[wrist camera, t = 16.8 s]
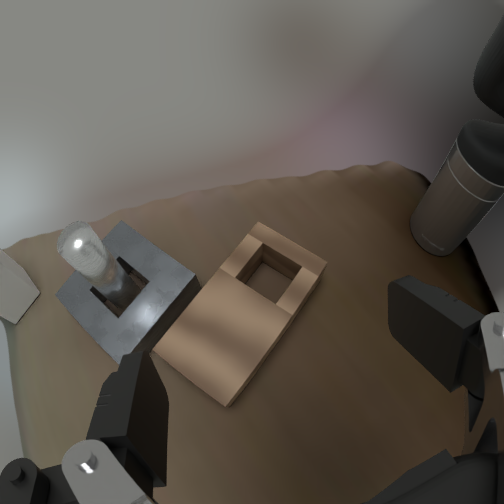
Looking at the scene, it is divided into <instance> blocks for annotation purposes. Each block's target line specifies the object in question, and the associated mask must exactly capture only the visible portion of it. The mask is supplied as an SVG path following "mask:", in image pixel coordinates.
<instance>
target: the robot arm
mask: <svg viewBox="0 0 504 504" xmlns="http://www.w3.org/2000/svg"><path fill="white" fill-rule="evenodd" d="M473 80H474V81H473V82H474V84H473V85H474V90H475V93H476V95H477V97H478V98H479V99H480V100H481V101H482V102H483V103H484V104H485V105H486V106H488V107H489V108H490V109H492V110H493V111H494V112H496V113H497V114H499V115H500V116H502V117H503V118H504V15H503V17H502V19H501V20H500V22H499V24H498V26H497V28H496V29H495V31H494V33H493V34H492V36H491V38H490V39H489V41H488V43H487V45H486V46H485V48H484V50H483V52H482V54H481V56H480V58H479V61H478V63H477V66H476V69H475V73H474V79H473ZM503 194H504V124H495V123H491V122H487V121H483V120H470V121H468V122H467V123H466V124H465V125H464V126H463V127H462V129H461V131H460V133H459V135H458V137H457V139H456V141H455V143H454V145H453V146H452V148H451V150H450V152H449V154H448V156H447V158H446V159H445V161H444V163H443V165H442V166H441V169H440V170H439V172H438V173H437V175H436V177H435V178H434V180H433V182H432V183H431V185H430V187H429V188H428V190H427V192H426V193H425V195H424V197H423V198H422V200H421V201H420V203H419V204H418V206H417V208H416V209H415V211H414V212H413V214H412V216H411V219H410V228H411V232H412V234H413V236H414V238H415V240H416V241H417V243H418V244H419V245H420V246H421V247H422V248H423V249H425V250H426V251H427V252H429V253H431V254H434V255H437V256H446V255H448V254H450V253H451V252H453V251H454V250H455V249H456V247H457V246H458V245H459V244H460V243H461V242H462V241H463V240H464V239H465V238H466V237H467V236H468V235H469V234H470V233H471V231H472V230H473V229H474V228H475V227H476V226H477V225H478V224H479V222H480V221H481V220H482V219H483V218H484V216H486V214H487V213H488V212H489V211H490V210H491V208H492V207H493V206H494V205H495V204H496V202H497V201H498V200H499V199H500V197H501V196H502V195H503ZM388 324H389V329H390V332H391V334H392V336H393V337H394V338H395V339H396V340H397V341H398V342H399V343H400V344H401V345H402V346H403V347H404V348H405V349H406V350H407V351H408V352H409V353H410V354H411V355H412V356H413V357H415V358H416V359H417V360H418V361H419V362H420V363H421V364H422V365H423V366H424V367H425V368H426V369H427V370H428V371H429V372H430V373H431V374H432V375H433V376H434V377H435V378H436V379H437V380H438V381H439V382H440V383H441V384H442V385H443V386H444V387H445V388H446V389H447V390H448V391H449V392H450V393H451V392H452V391H454V390H455V389H457V388H459V387H460V386H462V385H464V386H465V387H466V390H465V393H464V409H465V434H464V446H463V450H462V453H461V456H457V457H452V456H451V455H450V454H449V452H448V451H447V450H446V449H445V450H443V451H442V452H440V453H438V454H437V455H435V456H433V457H432V458H430V459H428V460H426V461H425V462H423V463H421V464H419V465H418V466H416V467H414V468H412V469H410V470H408V471H407V472H406V473H404V474H403V475H402V476H401V477H400V478H398V479H397V480H396V481H395V482H393V483H392V484H391V485H390V486H388V487H387V488H386V489H384V490H383V491H382V492H380V493H379V494H378V495H376V496H375V497H374V498H372V499H371V500H369V501H367V502H365V503H362V504H504V312H495V313H491V314H488V315H487V316H485V315H483V314H481V313H480V312H478V311H477V310H475V309H473V308H472V307H470V306H469V305H467V304H465V303H464V302H462V301H460V300H457V298H455V297H454V296H452V295H449V293H447V292H445V291H444V290H442V289H440V288H439V287H435V286H431V285H427V284H424V283H423V282H421V281H419V280H418V279H416V278H414V277H413V276H410V275H408V276H405V277H403V278H400V279H397V280H394V281H392V282H390V283H389V285H388ZM99 396H100V397H99V398H98V401H97V404H96V405H97V407H95V410H94V413H93V417H92V420H91V423H90V427H89V430H88V433H87V437H86V440H84V441H81V442H79V443H77V444H75V445H73V446H72V447H71V448H70V449H69V450H68V451H67V452H66V454H65V455H64V457H63V460H62V464H60V465H57V466H53V467H49V468H45V469H41V470H40V469H39V468H38V467H37V466H36V465H35V464H34V463H33V462H32V461H31V460H29V459H27V458H19V459H16V460H13V461H11V462H10V463H9V464H8V465H7V466H6V467H5V468H4V469H3V471H2V473H1V475H0V504H158V503H157V502H156V500H155V499H154V498H153V487H164V486H166V479H167V436H168V413H169V401H168V395H167V392H166V389H165V387H164V385H163V383H162V381H161V379H160V376H159V374H158V372H157V370H156V368H155V366H154V364H153V362H152V359H151V357H150V355H149V354H148V352H147V351H140V352H135V353H130V354H125V355H123V356H122V359H121V362H120V365H119V368H118V371H117V372H113V373H111V375H110V376H109V377H108V378H107V379H106V381H105V382H104V383H103V385H102V388H101V391H100V394H99Z"/></svg>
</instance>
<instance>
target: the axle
mask: <svg viewBox="0 0 504 504" xmlns="http://www.w3.org/2000/svg"><path fill="white" fill-rule="evenodd" d="M57 249H58V252H59V254H60V255H61V256H62V257H63V258H64V259H65V260H66V261H67V262H68V263H69V264H70V265H71V266H72V267H73V268H75V269H76V270H77V271H78V272H79V273H80V274H81V275H82V276H83V277H84V278H85V279H86V280H87V281H88V282H89V283H90V284H92V285H93V286H94V287H95V288H96V289H97V290H98V291H99V292H100V293H101V294H103V295H104V296H105V297H106V298H107V299H108V300H109V301H111V302H112V303H113V304H114V305H115V306H116V307H117V308H119V309H120V310H121V311H122V312H124V311H125V310H126V309H127V308H128V306H129V305H130V304H131V303H132V302H133V301H134V299H135V298H136V297H137V296H138V295H139V293H140V292H141V289H140V288H139V287H138V286H137V285H136V283H135V282H134V281H133V280H132V279H131V278H130V276H129V275H128V274H127V273H126V271H125V270H124V269H123V268H122V267H121V265H120V264H119V263H118V262H117V260H116V259H115V258H114V257H113V255H112V254H111V253H110V252H109V250H108V249H107V248H106V246H105V245H104V244H103V243H102V241H101V240H100V239H99V237H98V236H97V235H96V233H95V232H94V231H93V229H92V228H91V227H90V225H89V224H88V223H86V222H83V221H77V222H74V223H71V224H70V225H68V226H67V227H66V228H65V229H64V230H63V231H62V233H61V234H60V236H59V238H58V242H57Z"/></svg>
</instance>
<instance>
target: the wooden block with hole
mask: <svg viewBox="0 0 504 504" xmlns="http://www.w3.org/2000/svg"><path fill="white" fill-rule="evenodd" d="M262 262H264V263H265V264H267V265H269V266H270V267H272V268H274V269H275V270H277V271H278V272H280V273H282V274H283V275H285V276H286V277H288V278H290V279H291V280H293V281H292V282H291V284H290V285H289V287H288V288H287V290H286V291H285V292H284V294H283V295H282V297H281V298H280V299H279V301H278V302H277V304H274V303H273V302H271V301H270V300H268V299H267V298H265V297H264V296H262V295H261V294H259V293H257V292H256V291H254V290H253V289H251V288H250V287H248V286H247V285H245V283H246V282H247V281H248V279H249V278H250V277H251V276H252V274H253V273H254V272H255V270H256V269H257V268H258V267H259V265H260V264H261V263H262ZM327 263H328V262H326V261H325V260H323V259H321V258H320V257H318V256H316V255H315V254H313V253H311V252H309V251H308V250H306V249H304V248H303V247H301V246H299V245H298V244H296V243H294V242H293V241H291V240H289V239H287V238H286V237H284V236H282V235H281V234H279V233H277V232H275V231H274V230H272V229H270V228H268V227H267V226H265V225H263V224H262V223H260V222H258V223H257V224H256V225H255V226H254V227H253V228H252V230H251V231H250V232H249V233H248V234H247V236H246V237H245V238H244V239H243V240H242V242H241V243H240V244H239V245H238V246H237V248H236V249H235V250H234V251H233V252H232V253H231V255H230V256H229V257H228V258H227V259H226V261H225V262H224V263H223V264H222V265H221V267H220V268H219V269H218V270H217V271H216V273H215V274H214V275H213V276H212V278H211V279H210V280H209V281H208V282H207V284H206V285H205V286H204V287H203V288H202V290H201V291H200V292H199V293H198V294H197V296H196V297H195V298H194V299H193V301H192V302H191V303H190V304H189V305H188V307H187V308H186V309H185V310H184V311H183V313H182V314H181V315H180V316H179V318H178V319H177V320H176V321H175V322H174V324H173V325H172V326H171V327H170V329H169V330H168V331H167V332H166V333H165V335H164V336H163V337H162V338H161V340H160V341H159V342H158V343H157V344H156V346H155V347H154V348H153V349H152V350H153V351H155V352H156V353H157V354H158V355H159V356H160V357H162V358H163V359H164V360H165V361H166V362H168V363H169V364H170V365H171V366H172V367H174V368H175V369H176V370H177V371H179V372H180V373H181V374H182V375H184V376H185V377H186V378H187V379H189V380H190V381H191V382H193V383H194V384H195V385H197V386H198V387H199V388H200V389H202V390H203V391H204V392H206V393H207V394H208V395H210V396H211V397H213V398H214V399H215V400H217V401H218V402H219V403H221V404H222V405H224V406H225V407H230V406H231V405H232V404H233V402H234V401H235V400H236V398H237V397H238V396H239V395H240V393H241V392H242V391H243V389H244V388H245V387H246V385H247V384H248V383H249V381H250V380H251V379H252V377H253V376H254V375H255V373H256V372H257V370H258V369H259V368H260V366H261V365H262V364H263V362H264V361H265V360H266V358H267V357H268V355H269V354H270V353H271V351H272V350H273V348H274V347H275V346H276V344H277V343H278V341H279V340H280V339H281V337H282V336H283V334H284V333H285V331H286V330H287V328H288V327H289V326H290V324H291V323H292V321H293V320H294V318H295V317H296V315H297V314H298V312H299V311H300V309H301V308H302V306H303V305H304V304H305V302H306V301H307V299H308V298H309V296H310V294H311V293H312V291H313V290H314V288H315V287H316V285H317V284H318V282H319V281H320V279H321V277H322V274H323V272H324V270H325V267H326V265H327Z"/></svg>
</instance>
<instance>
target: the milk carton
mask: <svg viewBox="0 0 504 504" xmlns="http://www.w3.org/2000/svg"><path fill="white" fill-rule="evenodd" d="M39 294H40V292H39V290H38V289H37V287H36V286H35V284H34V283H33V282H32V280H31V279H30V277H29V276H28V274H27V273H26V271H25V270H24V268H22V267H21V266H20V265H19V264H18V263H16V262H15V261H14V260H13V259H12V258H11V257H9V256H8V255H7V254H6V253H5V252H4V251H2V250H1V249H0V316H1V317H3V318H5V319H7V320H8V321H10V322H12V323H14V324H16V323H17V322H18V321H19V319H20V318H21V317H22V316H23V314H24V313H25V312H26V310H27V309H28V308H29V307H30V305H31V304H32V303H33V301H34V300H35V299H36V298H37V296H38V295H39Z"/></svg>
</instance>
